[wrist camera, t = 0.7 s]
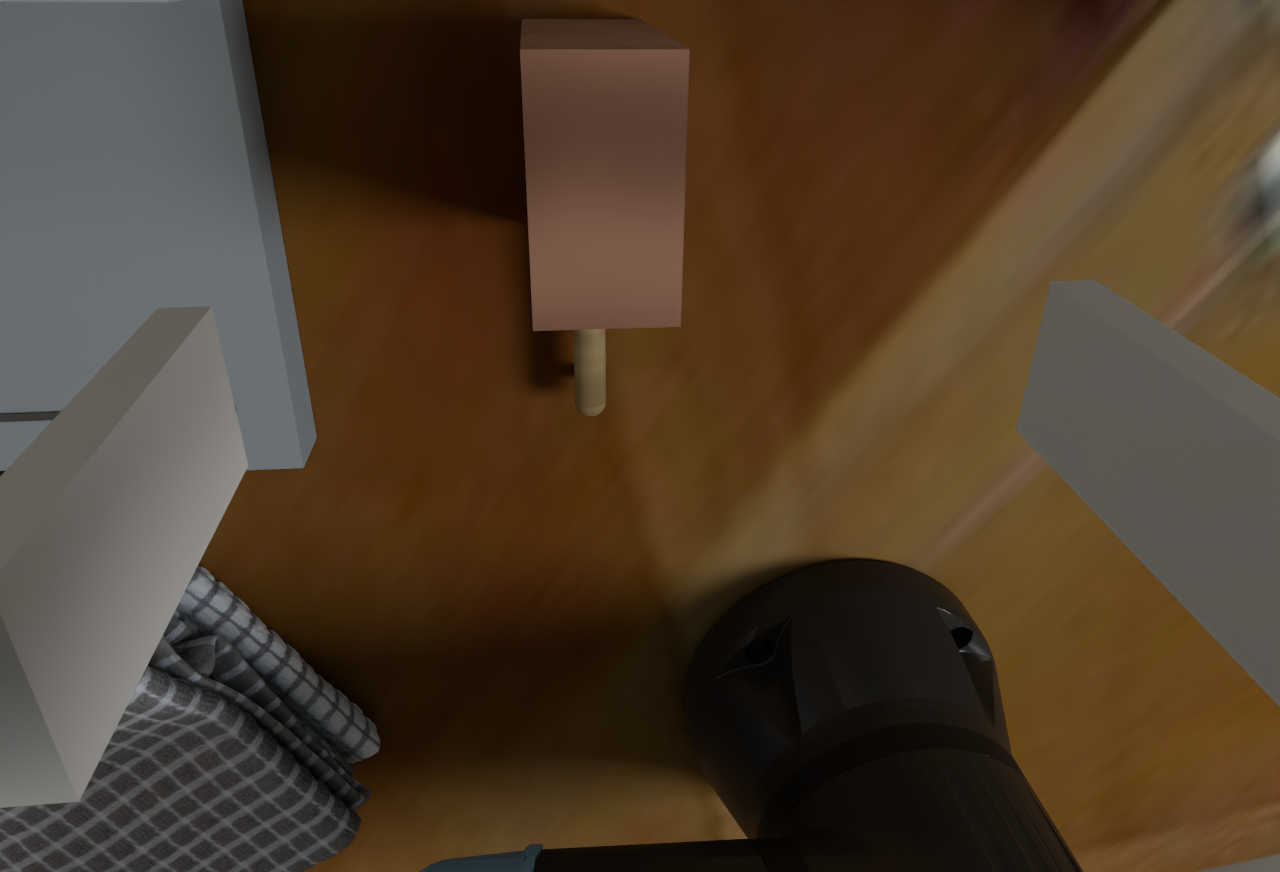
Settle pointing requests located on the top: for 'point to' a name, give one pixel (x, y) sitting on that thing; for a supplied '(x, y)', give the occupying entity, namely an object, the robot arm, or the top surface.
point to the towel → (210, 760)
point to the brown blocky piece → (603, 182)
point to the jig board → (139, 209)
